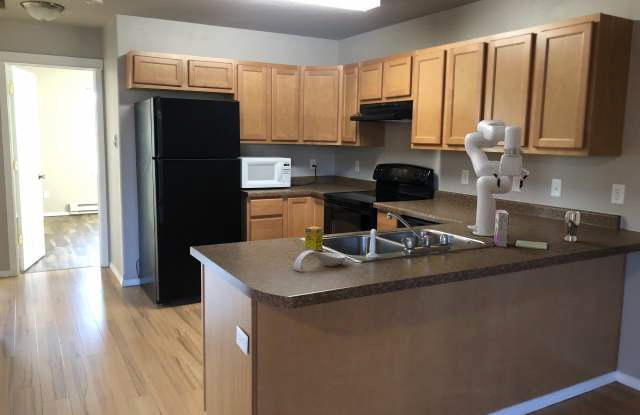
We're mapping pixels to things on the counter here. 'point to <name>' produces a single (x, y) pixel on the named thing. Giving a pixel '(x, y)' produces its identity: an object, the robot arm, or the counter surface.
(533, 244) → the mat
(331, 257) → the spoon rest
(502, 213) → the candy bar box
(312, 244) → the supplement box
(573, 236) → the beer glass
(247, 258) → the counter surface
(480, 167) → the robot arm
